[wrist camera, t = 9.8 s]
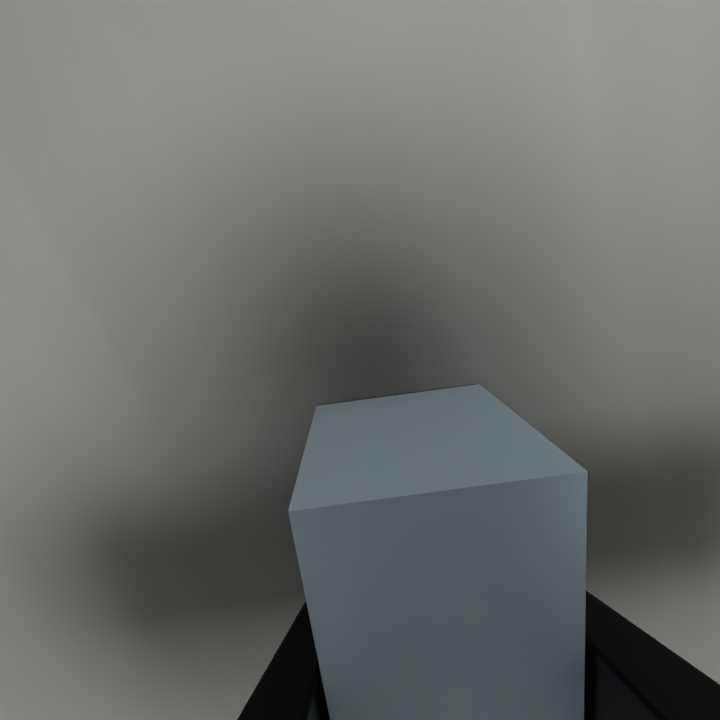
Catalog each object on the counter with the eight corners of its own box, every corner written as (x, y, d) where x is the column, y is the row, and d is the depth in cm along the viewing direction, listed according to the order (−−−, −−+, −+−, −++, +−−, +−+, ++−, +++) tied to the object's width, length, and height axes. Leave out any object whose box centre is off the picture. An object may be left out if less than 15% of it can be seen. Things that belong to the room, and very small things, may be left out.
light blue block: (479, 383, 9) (587, 471, 5) (493, 630, 10) (582, 845, 6) (316, 406, 9) (288, 511, 5) (357, 648, 10) (361, 874, 6)
